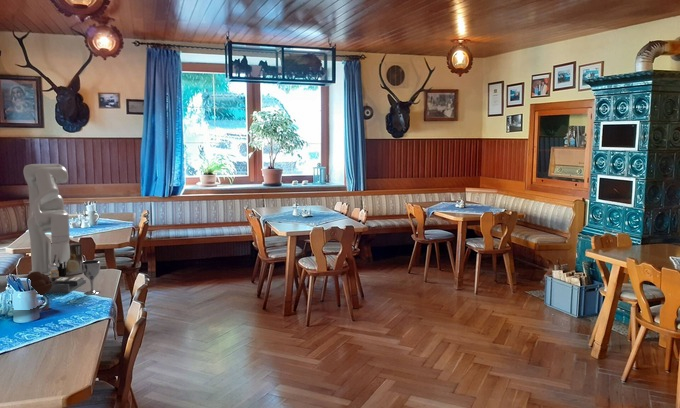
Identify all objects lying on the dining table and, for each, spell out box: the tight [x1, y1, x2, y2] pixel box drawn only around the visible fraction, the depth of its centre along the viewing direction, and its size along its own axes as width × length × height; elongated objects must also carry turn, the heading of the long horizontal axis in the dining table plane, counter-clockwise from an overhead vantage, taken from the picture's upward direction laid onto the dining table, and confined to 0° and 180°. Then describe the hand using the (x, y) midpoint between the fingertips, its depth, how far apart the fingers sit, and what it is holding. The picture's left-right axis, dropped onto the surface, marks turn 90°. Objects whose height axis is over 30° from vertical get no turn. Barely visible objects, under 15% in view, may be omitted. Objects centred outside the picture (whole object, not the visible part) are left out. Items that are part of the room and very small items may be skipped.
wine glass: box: [82, 259, 101, 296], centre depth 246 cm, size 8×8×15 cm
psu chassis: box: [47, 277, 87, 294], centre depth 254 cm, size 19×15×8 cm
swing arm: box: [48, 263, 60, 279], centre depth 251 cm, size 18×4×3 cm, turn 32°
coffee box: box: [66, 242, 84, 276], centre depth 281 cm, size 9×6×16 cm
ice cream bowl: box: [26, 272, 53, 296], centre depth 228 cm, size 11×11×15 cm
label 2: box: [69, 277, 81, 281], centre depth 258 cm, size 5×4×1 cm
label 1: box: [56, 277, 69, 281], centre depth 258 cm, size 5×4×1 cm
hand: (62, 276), depth 248 cm, fingers closed
